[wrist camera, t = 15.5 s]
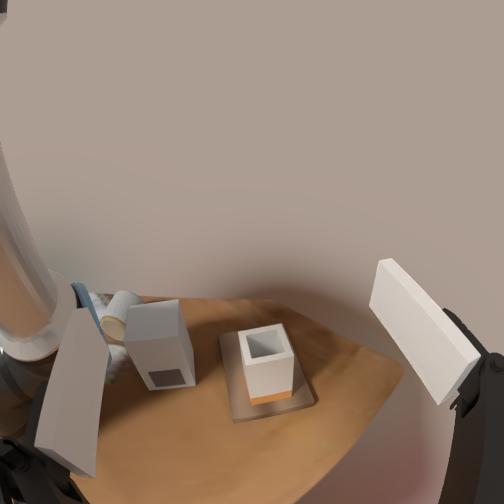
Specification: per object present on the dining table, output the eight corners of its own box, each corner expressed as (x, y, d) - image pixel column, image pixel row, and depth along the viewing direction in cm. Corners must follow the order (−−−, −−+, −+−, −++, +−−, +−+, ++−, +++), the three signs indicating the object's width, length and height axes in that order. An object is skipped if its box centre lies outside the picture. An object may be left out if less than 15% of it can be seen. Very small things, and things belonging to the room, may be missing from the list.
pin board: (234, 423, 37) (229, 406, 34) (219, 338, 52) (215, 318, 49) (314, 405, 38) (317, 387, 36) (282, 326, 54) (282, 306, 51)
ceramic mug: (106, 341, 52) (92, 313, 48) (122, 315, 59) (111, 287, 55) (151, 349, 50) (139, 319, 46) (164, 320, 57) (155, 290, 53)
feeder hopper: (149, 391, 42) (122, 343, 36) (151, 355, 49) (130, 305, 43) (196, 386, 43) (177, 336, 37) (193, 350, 50) (178, 299, 44)
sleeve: (251, 405, 38) (245, 365, 33) (244, 374, 43) (237, 331, 38) (291, 396, 39) (294, 355, 34) (281, 367, 44) (281, 323, 39)
